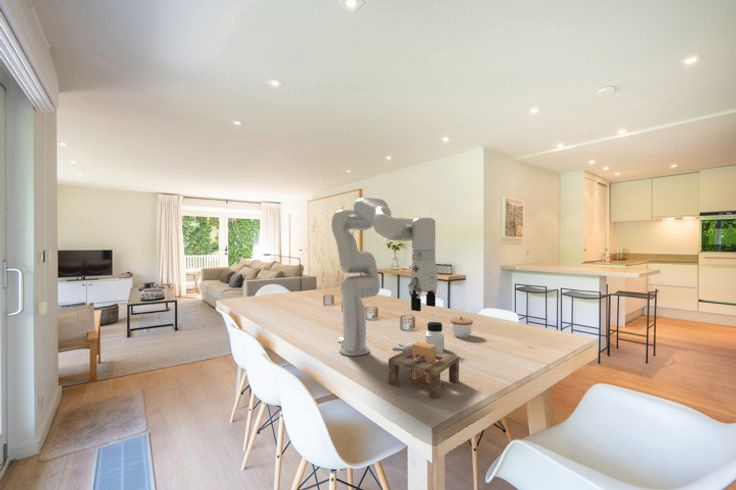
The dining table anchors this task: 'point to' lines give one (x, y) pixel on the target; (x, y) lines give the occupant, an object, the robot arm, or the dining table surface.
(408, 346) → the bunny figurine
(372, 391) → the dining table surface
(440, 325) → the medicine bottle
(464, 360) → the dining table surface
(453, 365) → the brown square frame
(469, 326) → the lidded jar
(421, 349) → the orange boxy part
